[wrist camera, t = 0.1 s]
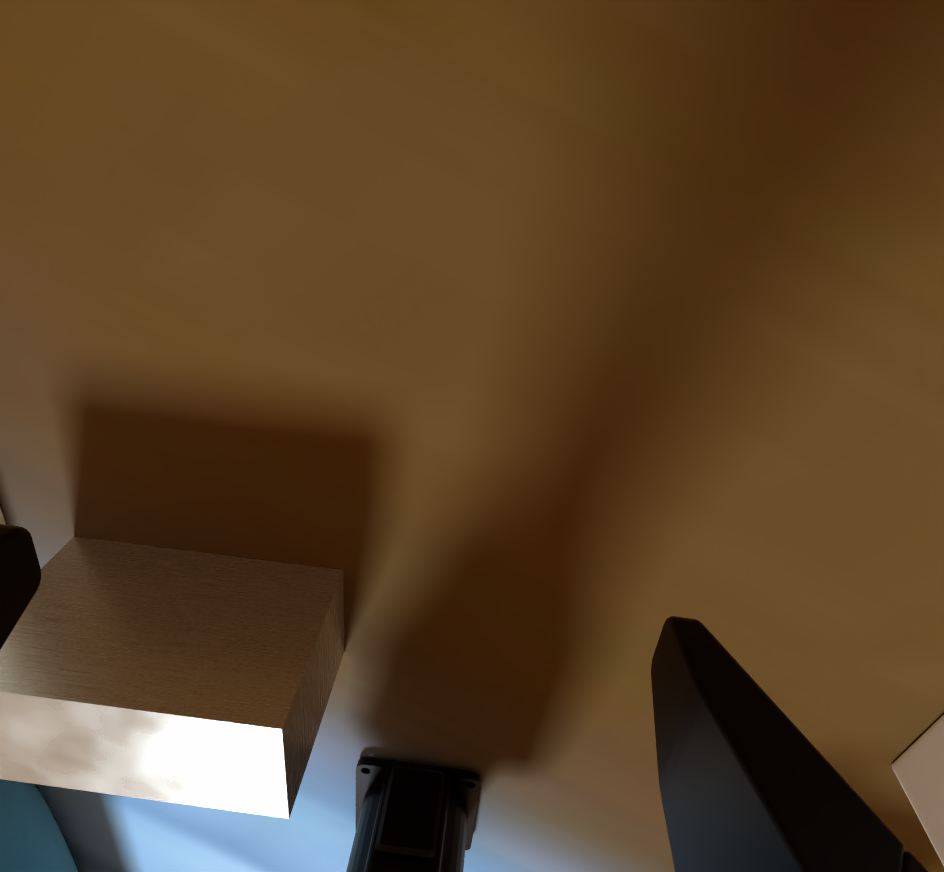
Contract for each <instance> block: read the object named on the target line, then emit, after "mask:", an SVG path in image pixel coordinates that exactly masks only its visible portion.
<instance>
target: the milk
mask: <svg viewBox="0 0 944 872" xmlns="http://www.w3.org/2000/svg"><path fill="white" fill-rule="evenodd" d="M892 768H893V770H894V772H895V774H896V776H897V778H898V780H899V782H900V784H901V786H902V788H903V790H904V791H905V793H906V795H907V797H908V799H909V801H910V803H911V805H912V807H913V809H914V811H915V812H916V814H917V816H918V818H919V820H920V822H921V824H922V826H923V828H924V830H925V831H926V833H927V835H928V837H929V839H930V841H931V843H932V845H933V847H934V849H935V851H936V852H937V854H938V856H939V858H940V860H941V862H942V864H943V866H944V715H942V716H941V717H940V718H939V719H938V720H937V721H936V722H935V723H934V724H933V725H932V726H931V727H930V728H929V729H928V730H927V731H926V732H925V733H924V734H923V735H922V736H921V737H920V738H919V739H918V740H917V741H915V742H914V743H913V744H912V745H911V746H910V747H909V748H908V749H907V750H906V751H905V752H904V753H903V754H902V755H901V756H900V757H899V758H898V759H897V760H896V761H895V762H894V763H893V764H892Z"/></svg>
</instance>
